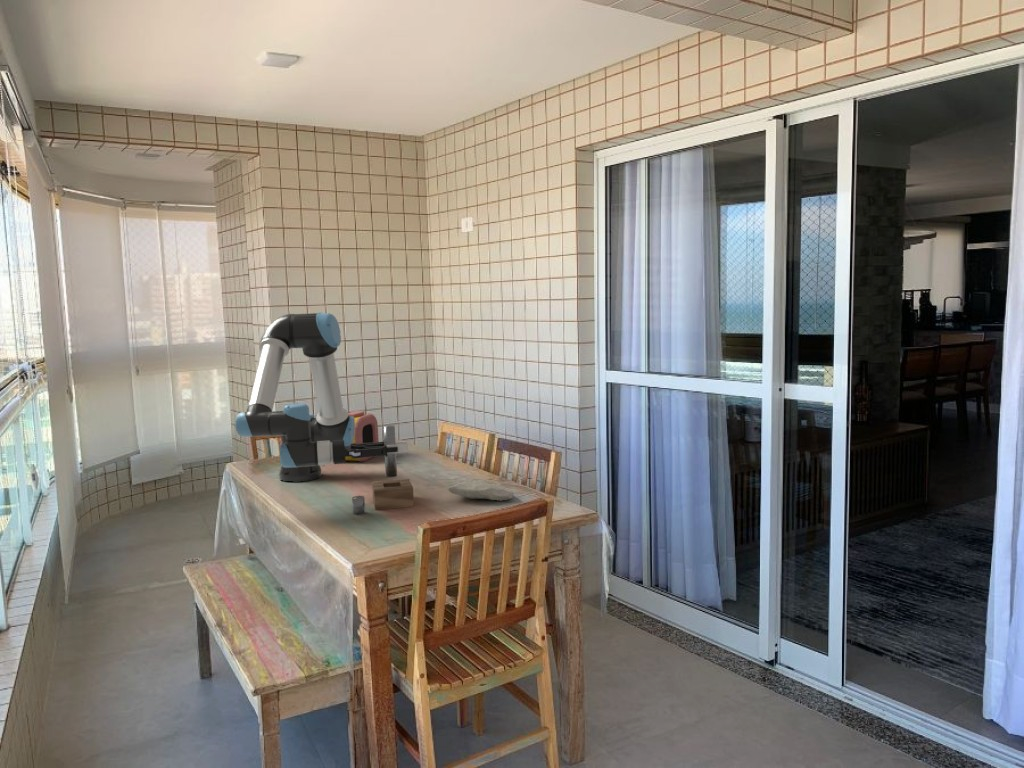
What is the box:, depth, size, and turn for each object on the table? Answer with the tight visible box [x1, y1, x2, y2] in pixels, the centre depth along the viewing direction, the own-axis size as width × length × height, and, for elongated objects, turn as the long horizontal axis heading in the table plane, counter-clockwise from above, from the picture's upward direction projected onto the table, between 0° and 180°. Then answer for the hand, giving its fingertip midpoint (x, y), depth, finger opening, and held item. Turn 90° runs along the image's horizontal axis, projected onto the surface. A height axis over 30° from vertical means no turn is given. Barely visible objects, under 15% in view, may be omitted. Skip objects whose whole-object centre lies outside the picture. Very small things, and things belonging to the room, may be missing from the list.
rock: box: [448, 479, 515, 501], centre depth 250 cm, size 24×6×20 cm
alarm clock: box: [345, 410, 380, 462], centre depth 314 cm, size 18×11×19 cm, turn 164°
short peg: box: [351, 495, 366, 516], centre depth 236 cm, size 4×4×5 cm
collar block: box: [371, 478, 415, 511], centre depth 246 cm, size 12×12×6 cm
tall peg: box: [382, 424, 398, 478], centre depth 244 cm, size 4×4×16 cm
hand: (407, 446), depth 245 cm, fingers closed on tall peg, 3 cm apart
